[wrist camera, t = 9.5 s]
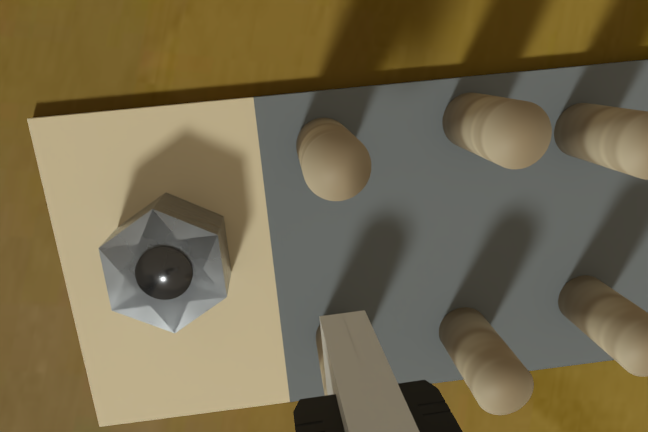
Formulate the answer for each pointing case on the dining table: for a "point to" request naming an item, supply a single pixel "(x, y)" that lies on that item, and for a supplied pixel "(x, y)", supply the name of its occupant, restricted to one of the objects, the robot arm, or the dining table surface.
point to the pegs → (513, 153)
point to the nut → (167, 263)
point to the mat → (341, 235)
